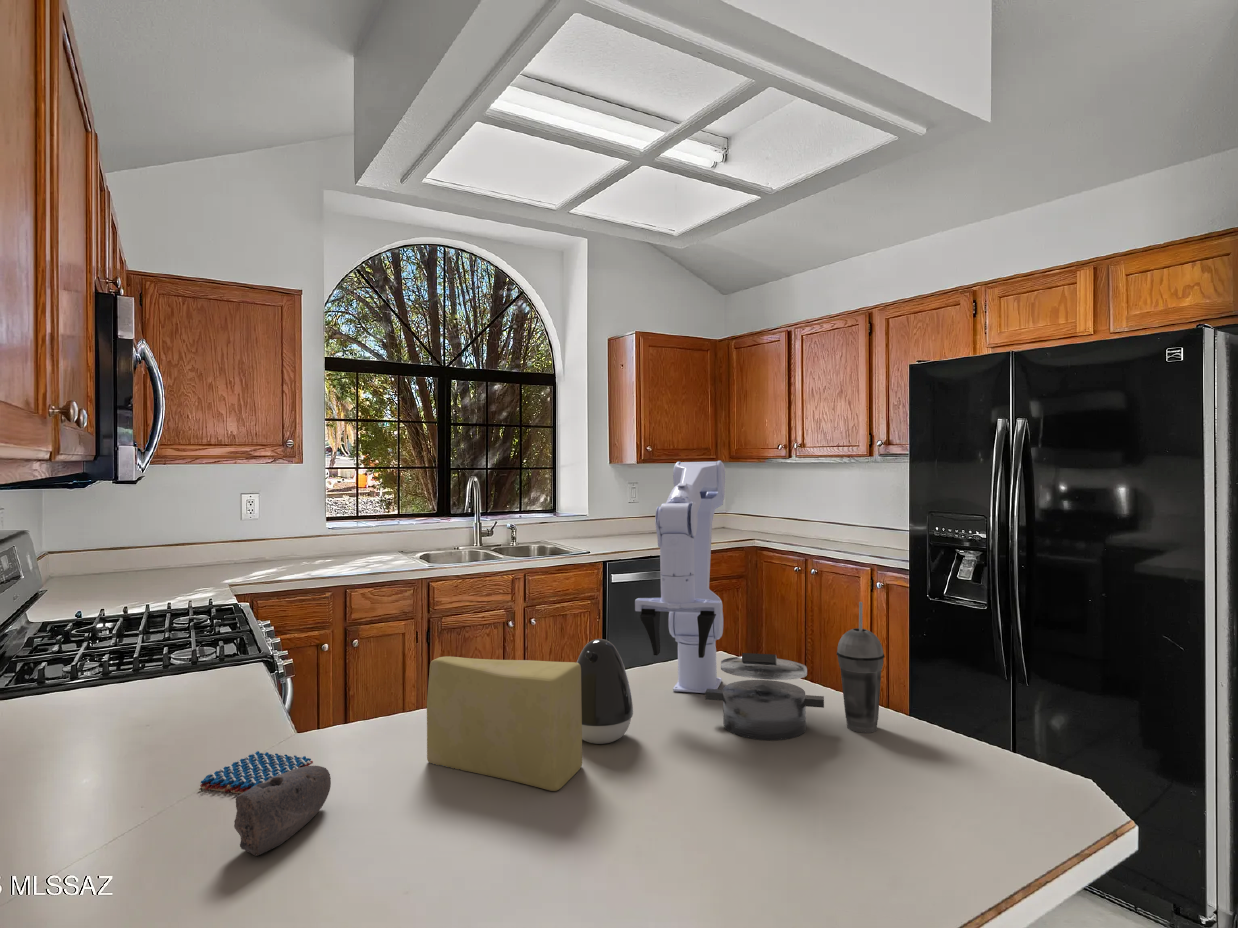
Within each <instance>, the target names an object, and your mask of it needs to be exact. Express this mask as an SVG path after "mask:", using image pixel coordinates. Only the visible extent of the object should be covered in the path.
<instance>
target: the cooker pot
mask: <svg viewBox="0 0 1238 928" xmlns="http://www.w3.org/2000/svg"><path fill="white" fill-rule="evenodd" d="M704 694H705V695H704V697H705V698H704V700H708V701H719V702H722V709H723V714H722V716H723V717H722V718H723V727H724V729H726V731H728V732H729V733H731V734H734V735H736V736H739V737H743V738H747V739H752V740H759V741H760V740H761V741H762V740H763V741H779V740H780V741H782V740H789V739H794V738H797V737H800V736H801V735H803V734H804V733H805V732H806V730H807V708H806V707H809V708H825V696H824V695H810V694H806V691H805V690H804V689H803V688H802V687H800V686H799V685H795V684H792V683H789V682H785V681H781V680H766V679H747V680H739V681H734V682H731V683H728V684H726V685H725V686H723V689H719V688H718V689H707V690H706V692H705V693H704Z"/></svg>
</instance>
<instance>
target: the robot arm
mask: <svg viewBox="0 0 1238 928" xmlns="http://www.w3.org/2000/svg"><path fill="white" fill-rule="evenodd" d="M725 469H726V468H725V464H724V463H723V461H722V460H717V461H684V462H683V461H682V462H681V461H677V462H676V463H674V466H673V471H672V473H673V474H672V480H673V481H672V482H673V486H674V487H673V488H672V489H671V491H670V492H669V495H668V497H667V499H666V502H663V503H661V505H660V506H659V505H658V506H657V507H656V510H655V516H654V517H655V519H654V523H655V532H656V537H657V538H656V539H657V547H658V548H659V558H660V560H659V561H660V562H659V563H660V564H659V565H660V597H638V598H636V599H635V600H634V611H635V612H640V615H639V618H640V621H641V623H642V625H643V626H644V628H645V630H646V633H647V635H648V638H649V641H650V645H651V649H652V655H653V656H658V655H660V653H661V637H660V636H661V635H660V626H661V625H660V624H661V620H660V619H661V612H668V631H669V635H671V637H672V638H674V639H675V640H674V641H675V642H676V643H677V677H678V678H677V682H676V683H675V685H674V686H673V688H672V690H673V692H683V693H697V694H698V693H700V694H705V692H706V690H707V689H719V686H720V685H721V683H722V680H723V679H722V677H718V676H717V665H718V664H717V648H716V646H717V644H716V641H717V640H720V639H721V638H722V637H723V633H724V612H723V609H724V608H723V606H724V605H723V601H722V599H721V598H720V597H719V595H717V594H716V593H715V592H714V591H712V590H711V589H710V579H711V578H710V575H711V573H710V572H711V559H712V558H711V556H712V555H711V554H712V552H711V551H712V537H713V536H712V535H713V533H712V532H713V521H714V517H715V511H716V509H718V508H720V507H721V506H723V505H724V500H725V492H726V491H725V489H726V470H725Z"/></svg>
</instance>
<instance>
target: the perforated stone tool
mask: <svg viewBox="0 0 1238 928" xmlns="http://www.w3.org/2000/svg"><path fill="white" fill-rule="evenodd" d="M331 786H332V784H331V774H330V772H329V770H328V769H327V767H324V766H320V765H309V766H305V767H300V768H297V769H294V770H291V771H288V772H285V773H283V774H280V775H278V776H275V777H272V778H270V779H268V780H267V781H265V782H262V783H259V784H257V785H255V786H254V787H252V788H251V789H249V790H247V791H246V792H244V793H242V794H240V793H239V794H238V795H237V796H236V797H235V808H236V809H235V810H236V812H235V813H236V815H235V819H234V823H233V824H234V825H233V827H234V829H235V831H236V832H237V833H238V835H239V837H240V843H239V847H240V849H241V850H245V852H247V854H249V853H250V854H252V855H254V856H256V857H257V856H260V855H262V854H265V853H266V852H267V853H268V851H271V850H272V849H275V848H277V847H279V846H280V845H282V844H284V843H285V841H287V840H289V839H290V838H292V837H293V836H294V835H295V834H296V833H297V832H299V831H300V830H302V828H304V827H305V826H306V825H307V824H308V823H310V821H311V820H312V819H314V817H315V816H316V815H317V814H318V813H319V812H320V810H321V809H322V807H323V806H324V804H325V802H326V801H327V799H328V796H329V794H330V791H331Z"/></svg>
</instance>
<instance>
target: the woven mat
mask: <svg viewBox="0 0 1238 928" xmlns="http://www.w3.org/2000/svg"><path fill="white" fill-rule="evenodd" d="M313 763H314V761H313V760H312V758H310V757H306V755H304V756H302V757H300V756H299V757H298V756H297V755H296V754H295V755H293V756H291V755H287V754H284V755H281V754H280V755H279V753H275V754H271V753H269V752H267V751H266V752H265V753H262V752H260V751H259V750H256V752H254V753H251V754H249V755H248V756H245V757H244V758H240V759H238V760H237V761H235V762H232V764H231V765H230V764H229V765H228V766H224V767H223V768H220V769H219V770H216V771H215V772H214V773H213V772H212V773H210V774H207V775H206V776H205V777H204V778H203V779H202V780H201V781H200V785H199V786H200V788H201V789H203V790H206V791H208V790H209V791H210V790H212V791H219V792H226V793H230V792H231V793H233V794H234V793H235V794H239V795H240V794H242V793H244V792H246V791H247V790H249V789H251V788H252V787H254V786H255V785H257V784H259V783H262V782H265V781H267V780H268V779H270V778H272V777H275V776H278V775H280V774H283V773H285V772H288V771H291V770H294V769H297V768H300V767H305V766H311V765H312V764H313Z"/></svg>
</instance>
